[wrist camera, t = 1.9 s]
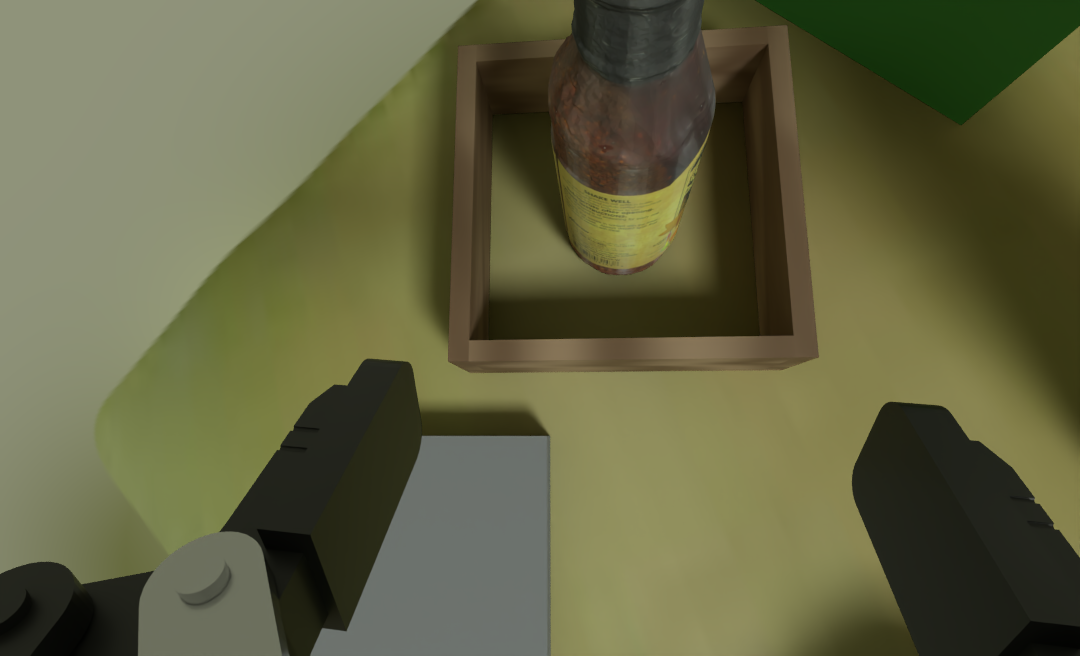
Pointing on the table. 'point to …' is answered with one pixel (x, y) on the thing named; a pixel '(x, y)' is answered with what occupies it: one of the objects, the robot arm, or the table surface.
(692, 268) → the table surface
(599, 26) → the sauce bottle
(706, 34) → the brown wooden tray
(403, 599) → the slate tile
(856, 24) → the hardback book
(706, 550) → the table surface
